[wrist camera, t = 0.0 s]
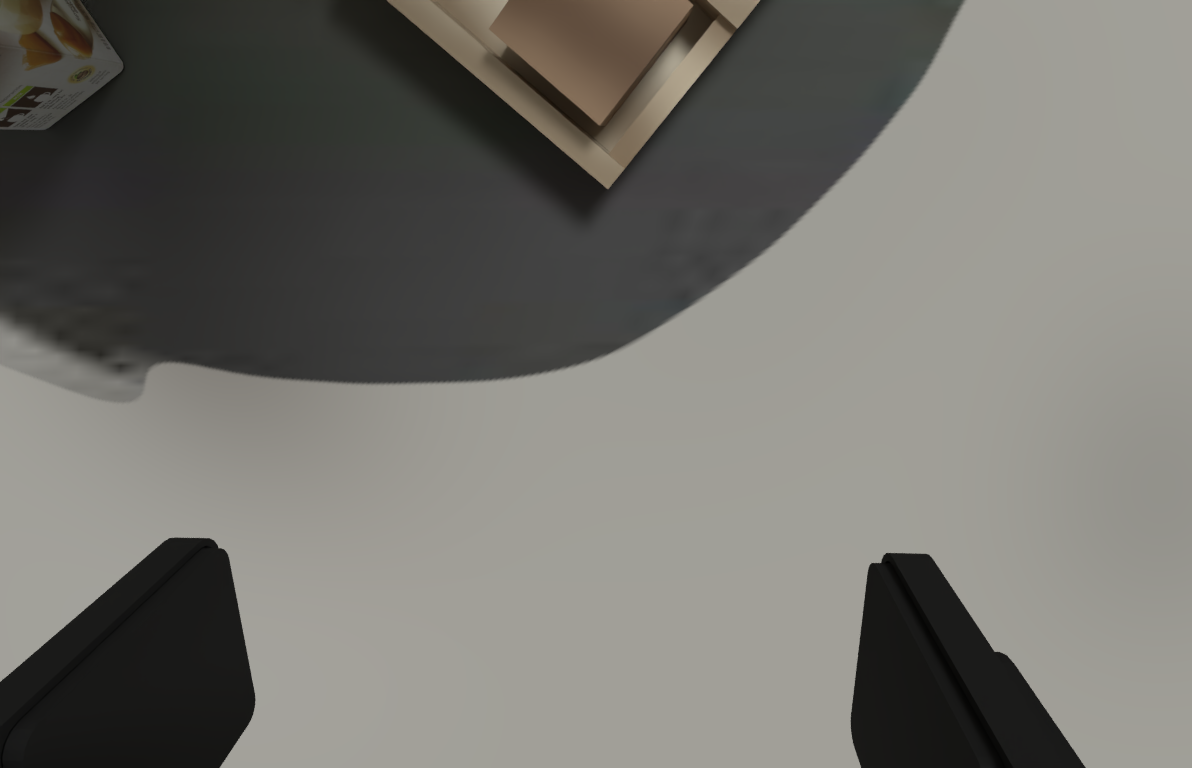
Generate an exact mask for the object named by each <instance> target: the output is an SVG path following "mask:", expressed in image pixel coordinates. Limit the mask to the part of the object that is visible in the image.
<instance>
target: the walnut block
mask: <svg viewBox="0 0 1192 768" xmlns="http://www.w3.org/2000/svg"><path fill="white" fill-rule="evenodd" d="M692 7H693V4H692V3H691V2H690V1H688V0H508V2H507V3H506V5H505V6H504V8H503V9H502V10H501V12H500V13H499V15H498V16H497V18H496V19H495V20H494V22H493V23H492V25H491V26H490V28H489V30H490V31H491V32H493V33H494V34H495V35H496V36H497V37H498V38H499V39H501V40H502V41H503V42H504V43H505V44H506V45H508V46H509V47H510V48H511V49H512V50H513V51H514V52H516V53H517V54H518V55H519V56H520V57H521V58H522V59H524V60H525V61H526V62H527V63H528V64H529V65H530V66H532V67H533V68H534V69H535V70H536V71H537V72H539V73H540V74H541V75H542V76H543V77H544V78H545V79H547V80H548V81H549V82H550V83H551V84H552V85H553V86H555V87H556V88H557V89H558V90H559V91H560V92H562V93H563V94H564V95H565V96H566V97H567V98H568V99H570V100H571V101H572V102H573V103H574V104H575V105H576V106H578V107H579V108H580V109H581V110H582V111H583V112H584V113H586V114H587V115H588V116H589V117H590V118H591V119H593V120H594V121H595V122H596V123H597V124H598V125H599V126H606V125H607V123H608V122H609V121H610V120H611V118H612V117H613V116H614V114H615V113H616V112H617V111H618V109H619V108H620V107H621V105H622V104H623V103H624V102H625V100H626V99H627V98H628V97H629V95H630V94H631V93H632V91H633V90H634V89H635V88H636V86H637V85H638V84H639V82H640V81H641V80H642V79H643V77H644V76H645V75H646V73H647V72H648V71H649V70H650V68H651V67H652V66H653V65H654V63H655V62H656V61H657V59H658V58H659V57H660V56H661V54H662V53H663V52H664V50H665V49H666V48H667V47H668V45H669V44H670V43H671V41H672V40H673V39H674V38H675V36H676V35H677V34H678V32H679V31H680V30H681V29H682V27H683V26H684V25H685V24H686V22H687V20H688V18H689V15H690V13H691V10H692Z"/></svg>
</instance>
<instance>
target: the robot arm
mask: <svg viewBox="0 0 1192 768" xmlns="http://www.w3.org/2000/svg"><path fill="white" fill-rule="evenodd" d="M254 708H255V693H254V687H253V682H252V677H251V671H250V666H249V661H248V656H247V651H246V646H245V640H244V635H243V629H242V624H241V619H240V614H239V609H238V603H237V598H236V593H235V588H234V582H233V577H232V572H231V566H230V561H229V557H228V554H227V553H226V551H225V550H224V549H221V548H218V545H217V544H216V543H215V541H214V540H212V539H210V538H169V539H168V540H166V541H164V542H163V543H162V544H161V545H160V546H158V547H157V548H156V549H155V550H154V551H153V552H151V553H150V554H149V555H148V556H147V557H146V558H145V559H143V560H142V561H141V562H140V563H139V564H137V565H136V566H135V567H134V568H133V569H132V570H130V571H129V572H128V573H127V574H126V575H125V576H123V577H122V578H121V579H120V580H119V581H118V582H116V584H114V585H113V586H112V587H111V588H109V589H108V590H107V591H106V592H105V593H104V594H103V595H101V596H100V597H99V598H98V599H97V600H95V601H94V602H93V603H92V604H91V605H90V606H88V607H87V608H86V609H85V610H84V611H83V612H81V613H80V614H79V615H78V616H77V617H76V618H75V619H73V620H72V621H71V622H70V623H69V624H68V625H66V626H65V627H64V628H63V629H62V630H60V631H59V632H58V633H57V634H56V635H55V636H53V637H52V638H51V639H50V640H49V641H48V642H46V643H45V644H44V645H43V646H42V647H41V648H40V649H39V650H37V651H36V652H35V653H34V654H33V655H31V656H30V657H29V658H28V659H27V660H26V661H25V662H23V663H22V664H21V665H20V666H19V667H17V668H16V669H15V670H14V671H13V672H11V674H9V675H8V676H7V677H6V678H4V679H3V680H2V681H1V682H0V768H220V766H221V765H222V763H223V762H224V760H225V759H226V757H227V756H228V754H229V753H230V751H231V750H232V748H233V747H234V745H235V744H236V742H237V741H238V739H239V738H240V736H241V735H242V733H243V732H244V730H245V729H246V727H247V726H248V724H249V722H250V720H251V718H252V715H253V712H254ZM851 732H852V739H853V743H854V747H855V750H856V753H857V756H858V759H859V762H860V765H861V768H1085V766H1084V765H1083V763H1082V762H1081V760H1080V759H1079V757H1078V756H1077V755H1076V753H1075V752H1074V750H1073V749H1072V747H1071V746H1070V744H1069V743H1068V741H1067V740H1066V739H1065V737H1064V736H1063V734H1062V733H1061V731H1060V730H1059V728H1058V727H1057V725H1056V724H1055V723H1054V721H1053V720H1052V718H1051V717H1050V715H1049V714H1048V712H1047V711H1046V709H1045V708H1044V707H1043V705H1042V704H1041V703H1040V701H1039V699H1038V698H1037V697H1036V695H1035V693H1034V692H1033V691H1032V689H1031V688H1030V686H1029V685H1028V683H1027V682H1026V680H1025V679H1024V677H1023V676H1022V674H1021V673H1020V672H1019V670H1018V669H1017V667H1016V666H1015V664H1014V663H1013V662H1012V661H1011V660H1010V659H1009V658H1008V656H1007V655H1005V654H1003V653H1000V652H994V650H993V649H992V647H991V646H990V644H989V643H988V641H987V640H986V638H985V637H984V635H983V634H982V632H981V631H980V629H979V628H978V626H977V625H976V623H975V622H974V620H973V619H972V617H971V616H970V614H969V613H968V611H967V610H966V608H965V607H964V605H963V604H962V602H961V601H960V599H959V598H958V596H957V595H956V593H955V592H954V590H953V589H952V587H951V586H950V584H949V583H948V581H947V580H946V578H945V577H944V575H943V574H942V572H941V571H940V569H939V568H938V566H937V565H936V563H935V562H934V560H933V559H932V558H931V557H930V555H928V554H905V553H886V554H885V555H884V556H883V559H882V562H881V563H872V564H870V566H869V570H868V575H867V584H866V592H865V601H864V610H863V619H862V627H861V636H860V645H859V652H858V661H857V671H856V678H855V686H854V695H853V703H852V712H851Z"/></svg>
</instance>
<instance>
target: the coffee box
mask: <svg viewBox="0 0 1192 768" xmlns="http://www.w3.org/2000/svg"><path fill="white" fill-rule="evenodd" d="M122 70H123V62H122V60H121V59H120V57H119V56H118V55H117V53H116V52H115V50H114V49H113V47H112V46H111V44H110V43H109V42H108V40H107V39H106V37H105V36H104V34H103V33H102V31H101V30H100V28H99V27H98V25H97V24H96V23H95V21H94V20H93V18H92V17H91V15H90V14H89V13H88V11H87V10H86V8H85V7H84V5H83V4H82V2H81V1H80V0H0V129H3V130H46V129H48V128H49V127H51V126H52V125H53V124H54V123H56V122H57V121H58V120H60V119H61V118H62V117H64V116H65V115H66V114H68V113H69V112H70V111H71V110H73V109H74V108H75V107H77V106H78V105H79V104H81V103H82V102H83V101H85V100H86V99H87V98H89V97H90V96H91V95H92V94H94V93H95V92H96V91H97V90H99V89H100V88H101V87H102V86H104V85H105V84H106V83H108V82H109V81H110V80H111V79H113V78H114V77H115V76H116V75H118V74H119V73H120V72H121V71H122Z"/></svg>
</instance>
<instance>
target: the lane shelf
mask: <svg viewBox="0 0 1192 768" xmlns="http://www.w3.org/2000/svg"><path fill="white" fill-rule="evenodd" d="M387 1H388V2H389V3H390V4H392V5H393V6H394V7H395V8H396V9H397V10H399V11H400V12H401V13H402V14H403V15H404V16H406V17H407V18H408V19H409V20H410V21H412V22H413V23H414V24H415V25H416V26H417V27H419V28H420V29H421V30H422V31H423V32H424V33H426V34H427V35H428V36H429V37H430V38H431V39H433V40H434V41H435V42H436V43H437V44H438V45H440V46H441V47H442V48H443V49H444V50H445V51H447V52H448V53H449V54H450V55H451V56H452V57H454V58H455V59H456V60H457V61H458V62H459V63H461V64H462V65H463V66H464V67H465V68H466V69H468V70H469V71H470V72H471V73H472V74H473V75H475V76H476V77H477V78H478V79H479V80H480V81H482V82H483V83H484V84H485V85H486V86H488V87H489V88H490V89H491V90H492V91H493V92H495V93H496V94H497V95H498V96H499V97H500V98H502V99H503V100H504V101H505V102H506V103H507V104H509V105H510V106H511V107H512V108H513V109H514V110H516V111H517V112H518V113H519V114H520V115H521V116H523V117H524V118H525V119H526V120H527V121H528V122H530V123H531V124H532V125H533V126H534V127H535V128H537V129H538V130H539V131H540V132H541V133H542V134H544V135H545V136H546V137H547V138H548V139H549V140H551V141H552V142H553V143H554V144H555V145H556V146H558V147H559V148H560V149H561V150H562V151H564V152H565V153H566V154H567V155H568V156H569V157H571V158H572V159H573V160H574V161H575V162H576V163H578V164H579V165H580V166H581V167H582V168H583V169H585V170H586V171H587V172H588V173H589V174H590V175H592V176H593V177H594V178H595V179H596V180H597V181H599V182H600V183H601V184H602V185H603V186H604V187H606V188H607V189H609V188H610V186H611V185H612V184H613V183H614V181H615V180H616V179H617V178H618V176H619V175H620V174H621V173H622V172H623V170H624V169H625V168H626V166H627V165H628V164H629V163H630V161H631V160H632V159H633V158H634V156H635V155H636V154H637V153H638V151H639V150H640V149H641V148H642V147H643V145H644V144H645V143H646V142H647V140H648V139H649V138H650V137H651V135H652V134H653V133H654V132H655V130H656V129H657V128H658V127H659V125H660V124H661V123H662V122H663V120H664V119H665V118H666V117H667V115H668V114H669V113H670V112H671V111H672V109H673V108H674V107H675V106H676V104H677V103H678V102H679V101H680V99H681V98H682V97H683V96H684V94H685V93H686V92H687V91H688V89H689V88H690V87H691V86H692V84H693V83H694V82H695V81H696V79H697V78H698V77H699V76H700V74H701V73H702V72H703V71H704V70H705V68H706V67H707V66H708V65H709V63H710V62H711V61H712V60H713V58H714V57H715V56H716V55H717V53H718V52H719V51H720V50H721V48H722V47H723V46H724V45H725V43H726V42H727V41H728V40H729V38H730V37H731V36H732V35H733V34H734V32H735V31H736V30H737V29H738V28H739V26H740V25H741V24H742V23H743V21H744V20H745V19H746V18H747V16H748V15H749V14H750V13H751V11H752V10H753V9H754V8H755V6H756V5H757V4H758V2H759V1H760V0H688V1H690V2H691V3H692V4H693V7H692V10H691V13H690V15H689V18H688V20H687V22H686V24H685V25H684V26H683V27H682V29H681V30H680V31H679V32H678V34H677V35H676V36H675V38H674V39H673V40H672V41H671V43H670V44H669V45H668V47H667V48H666V49H665V50H664V52H663V53H662V54H661V56H660V57H659V58H658V59H657V61H656V62H655V63H654V65H653V66H652V67H651V68H650V70H649V71H648V72H647V73H646V75H645V76H644V77H643V79H642V80H641V81H640V82H639V84H638V85H637V86H636V88H635V89H634V90H633V91H632V93H631V94H630V95H629V97H628V98H627V99H626V100H625V102H624V103H623V104H622V105H621V107H620V108H619V109H618V111H617V112H616V113H615V114H614V116H613V117H612V118H611V120H610V121H609V122H608V123H607V125H606V126H599V125H598V124H597V123H596V122H595V121H594V120H593V119H591V118H590V117H589V116H588V115H587V114H586V113H584V112H583V111H582V110H581V109H580V108H579V107H578V106H576V105H575V104H574V103H573V102H572V101H571V100H570V99H568V98H567V97H566V96H565V95H564V94H563V93H562V92H560V91H559V90H558V89H557V88H556V87H555V86H553V85H552V84H551V83H550V82H549V81H548V80H547V79H545V78H544V77H543V76H542V75H541V74H540V73H539V72H537V71H536V70H535V69H534V68H533V67H532V66H530V65H529V64H528V63H527V62H526V61H525V60H524V59H522V58H521V57H520V56H519V55H518V54H517V53H516V52H514V51H513V50H512V49H511V48H510V47H509V46H508V45H506V44H505V43H504V42H503V41H502V40H501V39H499V38H498V37H497V36H496V35H495V34H494V33H493V32H491V31H490V30H489V28H490V26H491V25H492V23H493V22H494V20H495V19H496V18H497V16H498V15H499V13H500V12H501V10H502V9H503V8H504V6H505V5H506V3H507V2H508V0H387Z"/></svg>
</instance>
